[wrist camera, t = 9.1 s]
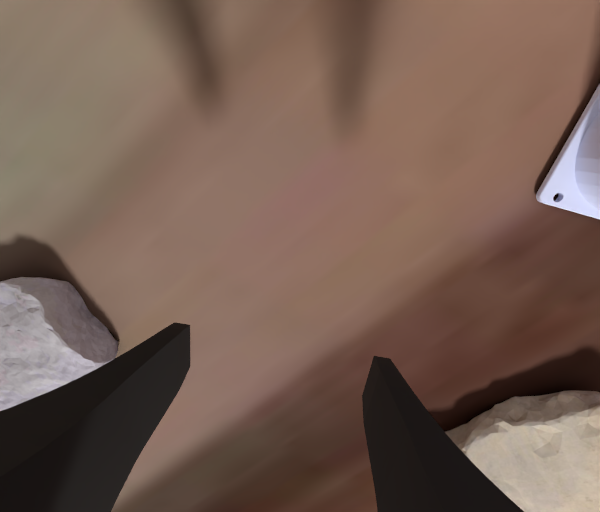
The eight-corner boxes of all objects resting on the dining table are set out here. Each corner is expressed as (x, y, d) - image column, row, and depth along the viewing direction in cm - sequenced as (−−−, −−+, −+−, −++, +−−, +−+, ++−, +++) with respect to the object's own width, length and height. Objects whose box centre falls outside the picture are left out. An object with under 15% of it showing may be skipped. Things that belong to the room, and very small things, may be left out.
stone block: (-23, 294, 26) (32, 391, 27) (-103, 315, 21) (-32, 431, 22) (81, 246, 24) (136, 354, 25) (17, 257, 19) (88, 389, 20)
